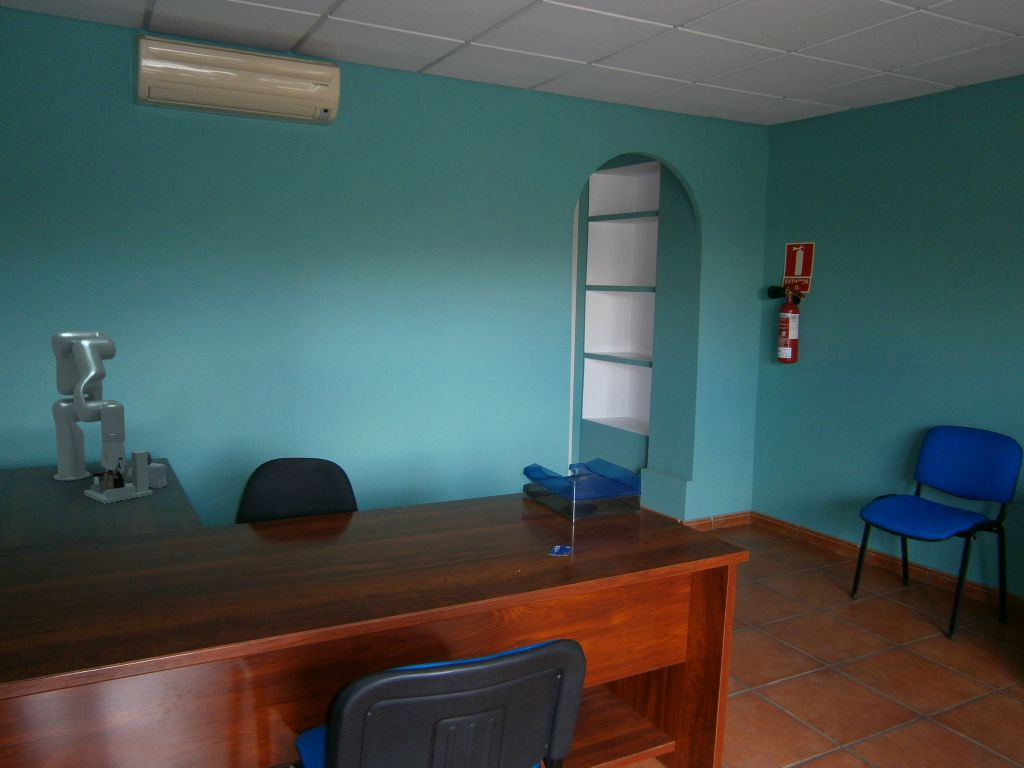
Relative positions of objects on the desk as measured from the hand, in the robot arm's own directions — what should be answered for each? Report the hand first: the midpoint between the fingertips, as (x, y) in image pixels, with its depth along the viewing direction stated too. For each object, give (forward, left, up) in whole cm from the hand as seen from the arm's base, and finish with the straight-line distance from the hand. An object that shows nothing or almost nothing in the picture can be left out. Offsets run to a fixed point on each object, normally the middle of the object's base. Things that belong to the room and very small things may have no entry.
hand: (115, 486), depth 286 cm
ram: (-10, 0, -3) cm, 10 cm away
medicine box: (-6, +17, -5) cm, 19 cm away
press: (-4, +3, -4) cm, 6 cm away
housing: (0, 0, -1) cm, 1 cm away
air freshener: (-17, +17, -5) cm, 25 cm away
